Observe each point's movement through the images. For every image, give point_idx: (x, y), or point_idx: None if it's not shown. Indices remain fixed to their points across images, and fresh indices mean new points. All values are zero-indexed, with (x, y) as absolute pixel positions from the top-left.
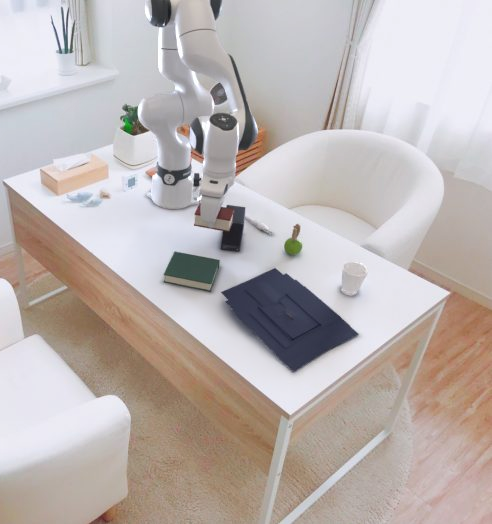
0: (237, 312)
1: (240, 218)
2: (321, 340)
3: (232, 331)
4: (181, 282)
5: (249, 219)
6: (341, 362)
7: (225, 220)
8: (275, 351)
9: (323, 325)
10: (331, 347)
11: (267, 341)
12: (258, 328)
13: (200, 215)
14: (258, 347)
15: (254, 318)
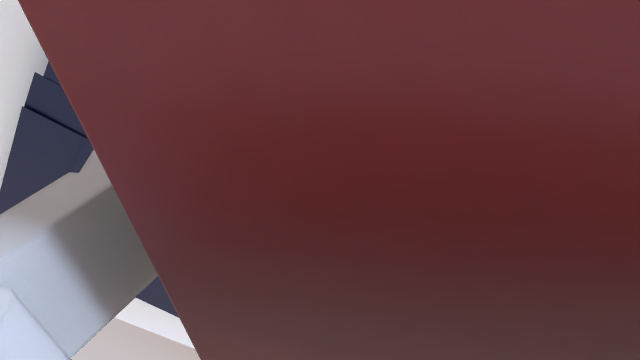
0: (47, 96)
1: None
2: (162, 295)
3: (7, 54)
4: None
5: None
6: (128, 312)
7: None
8: (5, 207)
9: None
10: (157, 306)
11: (18, 190)
12: (44, 167)
13: (60, 38)
14: (9, 147)
15: (76, 156)
